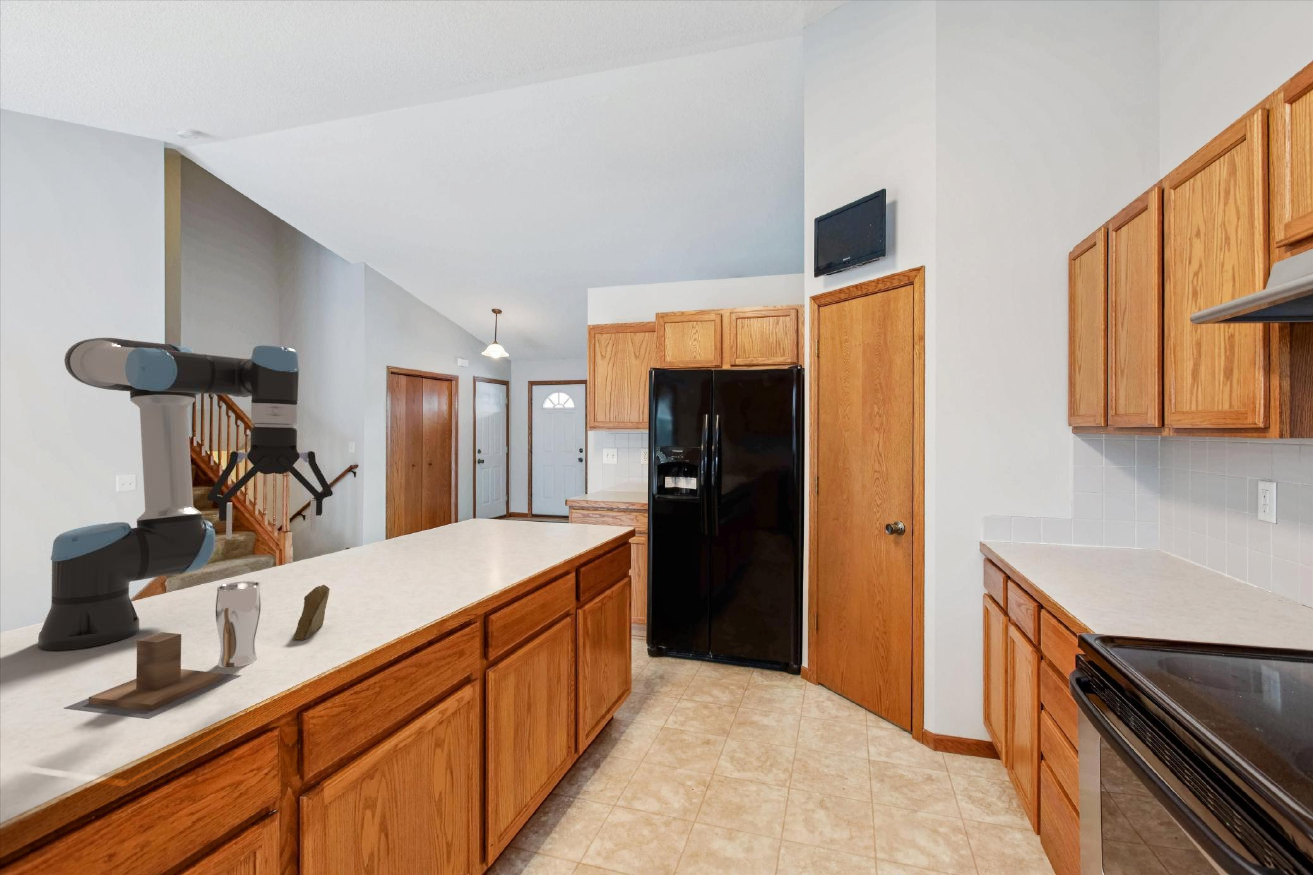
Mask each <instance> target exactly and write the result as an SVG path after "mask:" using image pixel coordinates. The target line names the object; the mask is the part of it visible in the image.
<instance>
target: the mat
mask: <svg viewBox="0 0 1313 875" xmlns="http://www.w3.org/2000/svg"><path fill="white" fill-rule="evenodd" d="M195 671H197V669H196V670H195ZM204 672H206V671H205V670H204ZM221 673H222V672H221ZM239 677H242V675H241V674H231V673H225V672H223V673H222V679H221V680H219V681H217V682H214V683H212V684H210V685H208V686H206V687H203V688H201V689H199V690H197V691H195V692H192V693H190V694H188V695H186V696H184V697H181V698H179V699H177V700H175V701H173V702H170V703H168V704H166V705H164V706H162V707H159V708H157V709H155V710H153V711H147V710H139V709H131V708H122V707H114V706H106V705H98V704H90V703H89V697H88V698H85V699H83V700H81V701H77V702H75V703H73V704H70V705H68V706H65V707H64V710H65V709H66V710H67V709H68V710H74V711H75V710H76V711H83V712H91V713H98V714H104V715H105V714H106V715H112V716H121V717H122V716H123V717H131V718H136V719H137V718H138V719H146V720H150V719H152V718H154V717H156V716H158V715H161V714H163V713H164V712H167V711H168V710H169V711H170V710H171V709H173V708H176V707H177V706H179V705H182V704H185V703H186V702H189V701H190V700H193V699H195V698H197V697H199V696H201V695H204V694H205V693H207V692H210V691H211V690H212V691H213V690H214V689H216V688H218V687H221V686H223V685H224V684H227V683H229V682H231V681H234V680H235V679H238V678H239Z"/></svg>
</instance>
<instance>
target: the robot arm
mask: <svg viewBox="0 0 1313 875" xmlns="http://www.w3.org/2000/svg"><path fill="white" fill-rule="evenodd" d="M63 360H64V366H65V369H66V371H67V373H69V375H70V376H71V377H72V378H74V379H75V380H76V381H78V382H80V383H82V384H84V385H87V386H90V387H94V388H98V389H104V390H109V391H121V392H129V395H130V398H129V400H130V402H131V403H133V404H134V405H135V406H137V407H138V408H139V417H140V418H139V420H140V436H141V437H140V438H141V440H140V442H141V456H142V457H141V458H142V474H143V476H142V478H143V493H144V496H143V497H144V512H143V513H142V514H141V515H140V516H138V518H136V527H132V526H131V525H130V523H129V522H124V521H123V522H122V521H120V522H109V523H100V524H98V523H97V524H94V525H93V524H92V525H86V526H83V527H78V528H74V529H71V530H66V531H65V532H62V533H60V534H59V535H57V536H56V537H55V539H54V540H53V544H52V549H51V550H52V552H51V556H50V560H51V605H50V609H49V611H48V613H47V616H46V618H45V621H44V623H43V625H42V627H41V630H40V632H39V633H38V636H37V637H38V639H37V645H38V648H39V649H40V650H45V651H68V650H70V651H71V650H80V649H85V648H91V647H92V648H93V647H96V646H102V645H107V644H110V643H115V642H117V641H120V640H125V639H127V638H129V637H131V636H133V635H135V634H137V633H138V632H139V631H140V619H139V616H138V614H137V612H136V609H135V607H134V605H133V602H132V600H131V598H130V582H131V583H132V582H137V581H143V580H148V579H155V578H161V577H166V576H167V577H168V576H172V575H173V576H174V575H182V574H185V573H189V572H193V571H198V570H201V569H202V568H203V567H205V566H206V565H207V564H208V563H209V562H210V559H211V558H212V556H213V553H214V549H215V545H216V532H215V529H214V525H213V524H212V522H210V521H209V520H206V519H203V513H202V512H201V511H200V510H199V509H197V508H195V506H194V496H193V479H192V462H191V460H192V459H191V458H192V457H191V443H190V428H189V413H188V412H189V410H188V408H189V406H191V405H192V404H193V403H194V402H195V401H196V396H197V395H199V394H205V395H206V394H207V395H219V396H220V395H222V396H232V397H237V398H238V397H241V398H249V397H251V406H250V408H251V410H250V423H251V424H253V426H252V428H250V446H249V447H250V448H249V451H247V452H245V451H237V450H232V451H231V452H230V454H229V459H228V463H227V465H226V466H225V468H224V469H223V471H222V472H221V474H220V476H219V477H218V478H217V480H216V481H215V483H214V485H213V487H212V488H211V490H210V492H209V493H208V495H207V496H206V499H207V501H208V502H209V501H210V502H214V503H217V505H218V519H219V521H220V522H226V524H225V525H226V527H225V529H226V530H225V532H226V533H225V539H226V540H231V539H232V534H233V533H232V530H233V528H232V527H233V526H232V524H233V502H229V501H230V500H231V499H232V498H233V497H234V496H235V495H236V494H237V493H239V491H240V490H241V489H242V488H243V487H245V485H247V484H248V483H249V482H250V481H251V479H252V478H253V477H255V476H256V475H257V474H258V473H260V474H263V475H271V474H278V475H283V474H286V473H287V472H289V473H290V474H291V475H292V477H294V478H295V479H296V480H297V481H298V482H299V483H300V484H301V485H302V486H303V487H304V488H305V490H307V491H308V492H309V493H310V494H311V496H313V497H314V498H312V499H310V508H309V510H310V511H309V512H310V513H309V532H310V534H316V532H317V530H316V528H317V527H316V524H317V517H318V516H322V514H323V500H324V499H326V498H328V497H332V496H333V495H334V492H333V490H332V488H331V487H330V485H329V484H328V481H327V479H326V478H325V475H324V474H323V472H322V471H321V469H320V467H319V465H318V464H317V461H316V452H314V451H313V450H308V451H305V452H304V451H303V452H299V451H298V447H297V446H298V429H297V428H295V426H296V425H297V424H298V397H299V377H300V376H299V375H300V374H299V373H300V372H299V371H300V367H299V355H298V352H297V351H296V350H295V349H294V348H290V347H284V346H279V345H263V344H262V345H256V346H254V347H253V349H252V354H251V357H250V358H242V357H241V358H239V357H231V356H222V355H213V354H205V353H197V352H195V351H194V350H193V349H192V348H190V347H189V348H188V347H186V346H185V347H184V346H179V345H175V344H171V343H166V344H165V343H158V342H151V341H140V340H130V339H125V338H123V339H122V338H117V337H116V338H115V337H94V338H89V339H83V340H80V341H78V342H76V343H74V344H72V345H71V346H70V348H68V349H67V351H66V353H65V355H64V359H63ZM244 459H248V461H249V462H250V463H251V464H252V466H251V468H249V469H248V470H247V472H245V473H244V474H243V476H241V477H240V479H238V480H237V481H236V482H235V483H234V484H233V485H231V486H230V488H229V489H227V491H225V492H224V494H223V495H221V494H219V493H220V492H221V490H222V489H223V486H224V485H225V483H226V482H227V481H228V479H229V477H230V476H231V475H232V473H233V471H234V469H235V468H236V466H237V464H240V463H242V462H243V460H244ZM299 459H302V460H303V461H304V463H307V464H308V466H309V468H310V469H311V472H312V473H313V474H314V476H315V479H316V480H317V482H318V483H319V485H320V487H321V488H322V491H319V490H318V489H317V488H316V487H315V486H314V485H313V484H312V483H311V482H309V480H308V479H307V478H306V477H305V476H304V475H303V474H302V473H301V472H300V471H299V470H298V469H297V468H296V467H295V466H294V465H295V464H296V462H298V460H299Z"/></svg>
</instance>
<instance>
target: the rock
mask: <svg viewBox="0 0 1313 875" xmlns="http://www.w3.org/2000/svg"><path fill="white" fill-rule="evenodd" d="M329 595H330V587H328V586H327V585H325V584H322V585H318V586H316V587H314V588H313V589H312V590H311V591H309V592H308V593H307V594H306V595H305V596H304V598H303V600H304V602H303V608H302V612H301V616H300V617H299V619H298V622H297V626H296V629H295V632H294V636H293V637H292V639H293V640H305V639H308V638H309V637H310V636H312V634H313V633H315V632H316V631H318V630H319V629H320V628H322V626H323V625H324V621H325V614H326V609H327V603H328V600H329ZM317 629H318V630H317Z"/></svg>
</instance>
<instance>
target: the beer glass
mask: <svg viewBox="0 0 1313 875" xmlns="http://www.w3.org/2000/svg"><path fill="white" fill-rule="evenodd" d="M215 598H216V599H215V612H214V613H215V622H216V628H217V635H218V639H219V643H220V647H219V648H220V653H219V659H218V662H217V667H218V668H221V669H237V668H241V667H247V666H248V665H251V664H254V663H255V662H256V661H257V659H258V657H257V653H256V643H255V642H256V635H257V633H258V632H257V631H258V627H259V623H260V622H259V621H260V617H261V610H262V609H261V606H262V599H261V598H262V596H261V583H260V581H255V580H254V581H253V580H250V581H249V580H248V581H246V580H245V581H244V580H243V581H236V582H229V583H226V584H222V585H219V586H218V587H217V590H216V597H215Z"/></svg>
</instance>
